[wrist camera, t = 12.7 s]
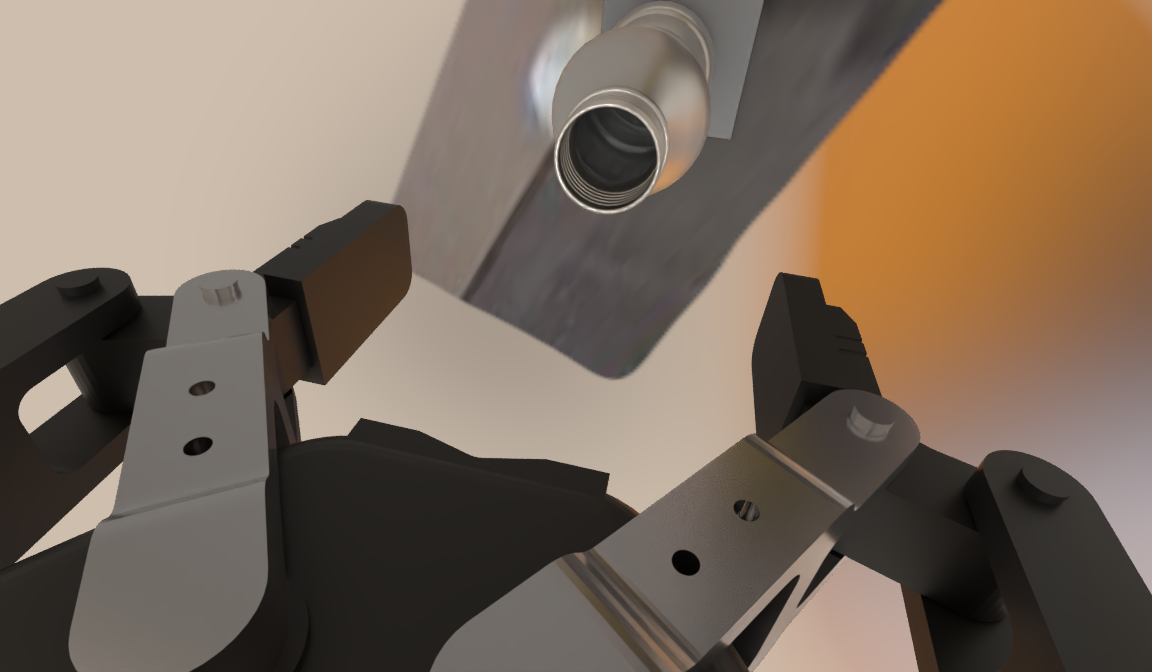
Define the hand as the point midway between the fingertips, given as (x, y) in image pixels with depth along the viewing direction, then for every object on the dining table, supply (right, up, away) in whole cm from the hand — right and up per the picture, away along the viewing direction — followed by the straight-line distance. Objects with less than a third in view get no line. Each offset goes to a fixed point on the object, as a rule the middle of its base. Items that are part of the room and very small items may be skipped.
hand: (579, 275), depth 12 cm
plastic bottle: (+5, +16, +22) cm, 28 cm away
